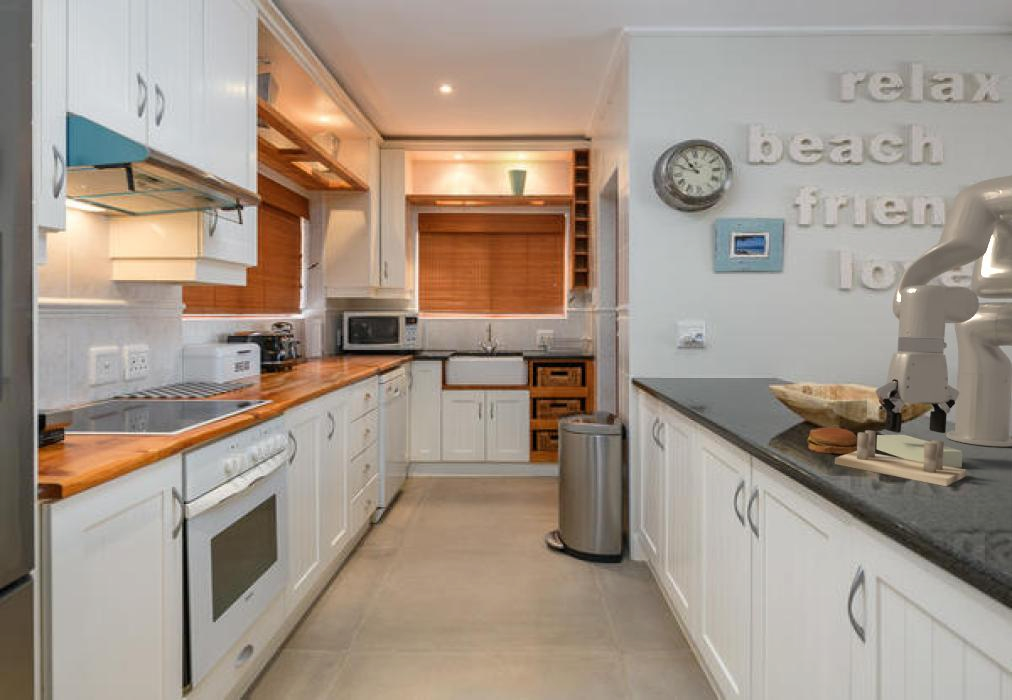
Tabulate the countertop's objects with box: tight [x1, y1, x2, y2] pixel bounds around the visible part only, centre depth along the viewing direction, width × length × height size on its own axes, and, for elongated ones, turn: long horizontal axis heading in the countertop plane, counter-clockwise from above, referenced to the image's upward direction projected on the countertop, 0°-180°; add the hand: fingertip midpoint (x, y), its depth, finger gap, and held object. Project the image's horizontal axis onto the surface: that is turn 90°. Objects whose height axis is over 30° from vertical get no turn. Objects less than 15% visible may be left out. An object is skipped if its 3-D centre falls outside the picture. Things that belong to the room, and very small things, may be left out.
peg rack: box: [834, 429, 967, 487], centre depth 107 cm, size 10×18×6 cm, turn 36°
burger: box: [806, 427, 858, 455], centre depth 123 cm, size 10×9×5 cm
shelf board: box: [876, 434, 963, 468], centre depth 116 cm, size 6×15×4 cm, turn 3°
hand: (915, 431), depth 115 cm, fingers open, 9 cm apart
